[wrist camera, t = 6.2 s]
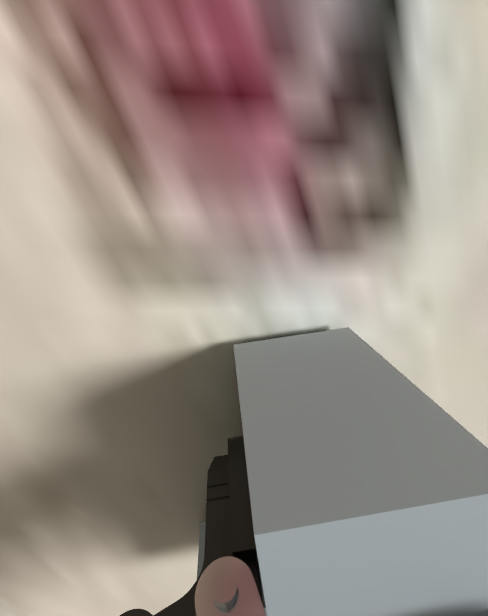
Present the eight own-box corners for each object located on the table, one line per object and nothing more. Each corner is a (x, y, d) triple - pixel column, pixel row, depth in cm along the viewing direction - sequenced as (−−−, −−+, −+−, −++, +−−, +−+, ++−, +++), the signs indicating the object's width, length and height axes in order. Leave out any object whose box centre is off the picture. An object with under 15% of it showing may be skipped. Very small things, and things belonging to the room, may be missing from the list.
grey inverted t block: (159, 355, 9) (69, 568, 4) (418, 316, 10) (694, 457, 4) (206, 545, 12) (195, 822, 7) (402, 510, 13) (548, 745, 7)
